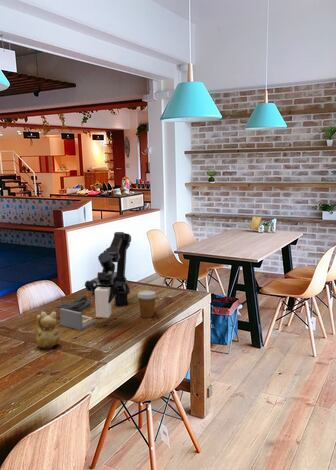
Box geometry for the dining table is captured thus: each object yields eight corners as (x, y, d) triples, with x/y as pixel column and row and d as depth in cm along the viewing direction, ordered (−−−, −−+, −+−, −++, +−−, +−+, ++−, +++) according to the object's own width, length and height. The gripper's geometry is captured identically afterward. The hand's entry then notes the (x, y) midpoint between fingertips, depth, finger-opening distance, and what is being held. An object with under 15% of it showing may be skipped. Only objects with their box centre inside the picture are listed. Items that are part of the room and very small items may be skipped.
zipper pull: (54, 306, 210) (77, 291, 233) (54, 319, 211) (78, 303, 235) (70, 307, 207) (92, 292, 231) (71, 320, 208) (93, 304, 232)
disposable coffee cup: (160, 315, 214) (160, 292, 212) (147, 320, 207) (146, 296, 205) (147, 310, 220) (147, 288, 218) (134, 315, 214) (133, 292, 212)
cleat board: (76, 317, 212) (75, 302, 210) (96, 322, 205) (95, 306, 204) (60, 324, 203) (59, 308, 201) (80, 330, 196) (79, 313, 194)
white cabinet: (99, 312, 202) (98, 286, 200) (111, 313, 201) (110, 286, 199) (95, 317, 196) (94, 290, 194) (108, 317, 196) (107, 290, 193)
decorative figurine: (60, 341, 183) (58, 308, 181) (59, 349, 175) (57, 315, 173) (37, 343, 182) (35, 310, 179) (35, 352, 174) (32, 317, 171)
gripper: (84, 264, 200) (78, 294, 191) (123, 265, 197) (118, 295, 188) (91, 276, 209) (84, 304, 200) (127, 276, 206) (123, 306, 197)
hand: (102, 302), depth 196 cm, fingers closed on white cabinet, 6 cm apart
